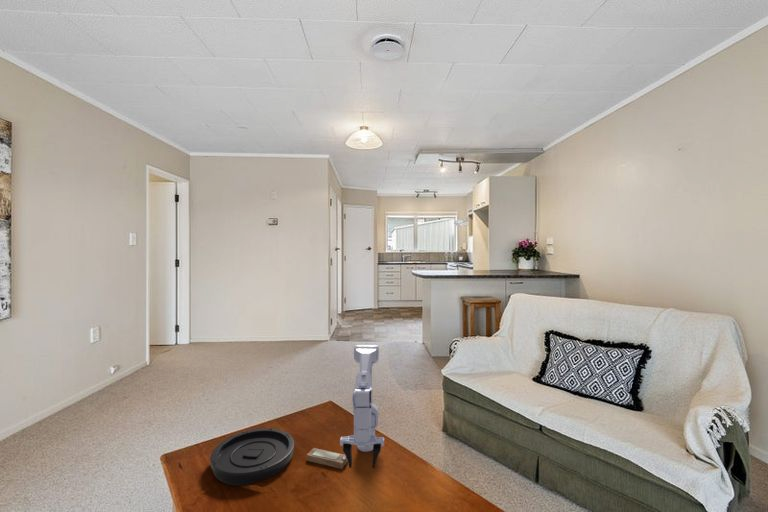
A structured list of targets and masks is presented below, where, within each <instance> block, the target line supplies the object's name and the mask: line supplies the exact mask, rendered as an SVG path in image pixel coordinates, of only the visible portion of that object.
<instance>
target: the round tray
mask: <svg viewBox="0 0 768 512" xmlns="http://www.w3.org/2000/svg"><path fill="white" fill-rule="evenodd" d="M294 448H295V439H294V438H293V436H292V435H291V434H289V433H288V432H286V431H284V430H281V429H277V428H255V429H249V430H245V431H242V432H239V433H237V434H234V435H231V436H229V437H227V438H225V439H224V440H222V441H221V442H219V444H218V445H217V446H216V447H214V449H213V450H212V452H211V454H210V458H209V461H210V468H211V471H212V473H213V475H214V477H215V478H216V479H217V480H218V481H220V482H221V483H222V484H226V485H229V486H238V487H239V486H240V487H241V486H243V487H245V486H250V485H253V483H256V482H259V481H264V480H267V479H269V478H271V477H272V476H275V475H277V474H278V473H279V472H281V471H282V470H283V469H284V468H286V467H287V465H288V464H289V463H290V462H291V460H292V457H293V454H294V450H295V449H294Z"/></svg>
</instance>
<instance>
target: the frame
mask: <svg viewBox="0 0 768 512" xmlns="http://www.w3.org/2000/svg"><path fill="white" fill-rule="evenodd" d="M306 461H308V462H311V463H315V464H320V465H323V466H329V467H332V468H337V469H342V470H343V469H344V467H345V466H346V464H347V463H348V460H347V457H346V455H345V453H343V454H342V453H339V452H336V451H335V452H334V451H330V450H326V449H320V448H317V447H313V448H311V450H310V451H309V452H308V453H307V454H306Z"/></svg>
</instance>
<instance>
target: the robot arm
mask: <svg viewBox="0 0 768 512" xmlns="http://www.w3.org/2000/svg"><path fill="white" fill-rule="evenodd" d="M379 347H380V346H379V345H378V344H355V345H354V346H353V359H354V362H355V363H357V364H359V371H358V373H357V374H356V375H355V384H354V385H355V386H354V390H353V391H352V398H351V401H352V402H351V403H352V413H353V435H348V436H341V437H340V439H339V445H340V447H341V446H342V451H343V454H344V455H346V457H347V460H348V462H347V463H348V467H349V469H351V468H352V464H353V457H352V454H353V452H352V450H353V448H352V447H353V446H357V450H359V451H361V452H363V453H365V452H367V453H368V452H372V465H371V466H372V469H375V468H376V467H375V466H376V462H377V458H378V457H379V454H380V453H381V448H382V447H385V437H383V436H382V437H381V436H376V428H378V427H379V408H378V406H377V405H376V404H374V403H373V386H372V385H373V366H374V364H377V363H378V362H379V356H380V355H379V353H380V351H379V349H380V348H379Z"/></svg>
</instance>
